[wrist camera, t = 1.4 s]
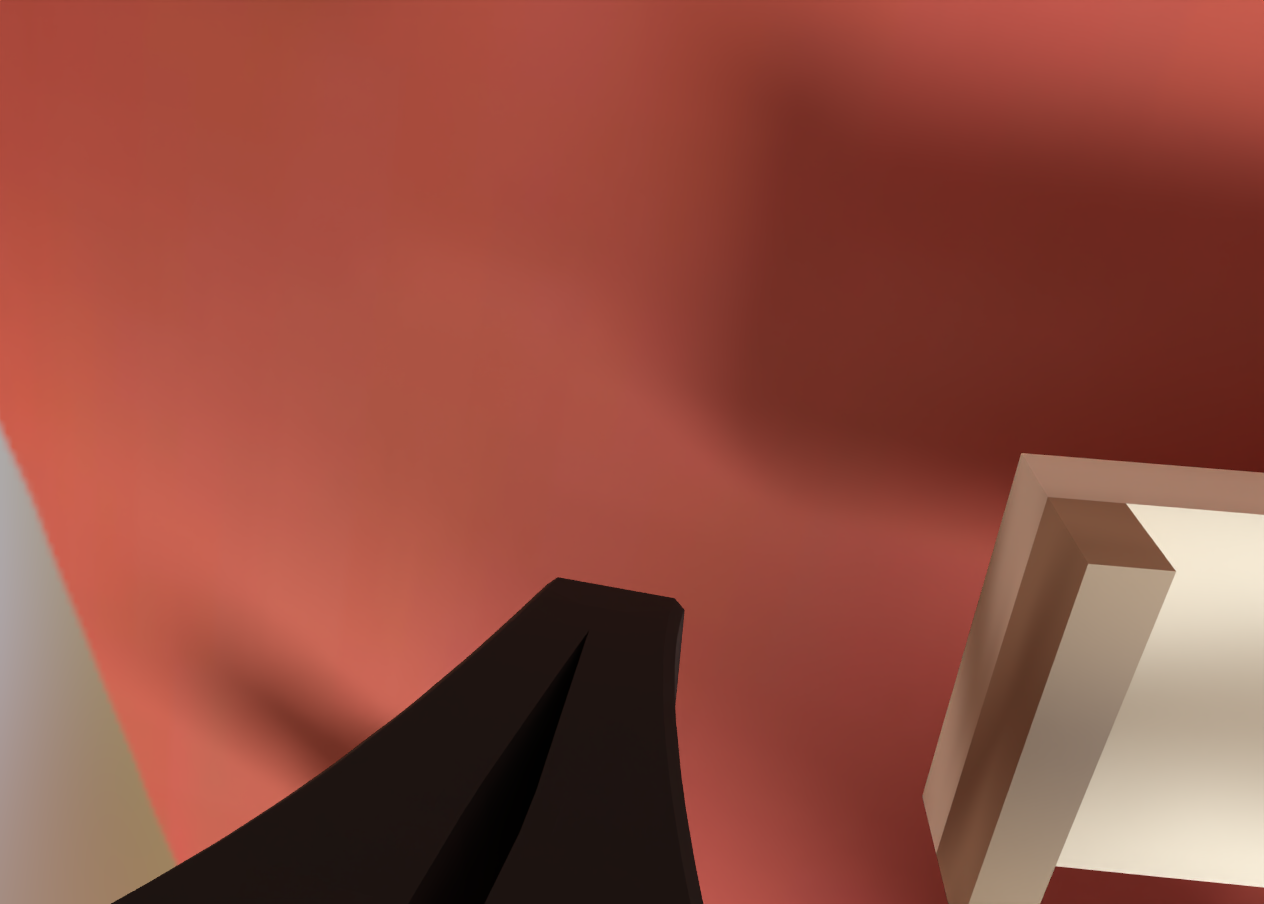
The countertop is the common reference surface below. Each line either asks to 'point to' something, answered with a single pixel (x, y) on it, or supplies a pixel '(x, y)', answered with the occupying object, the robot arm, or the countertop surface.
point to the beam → (1109, 685)
